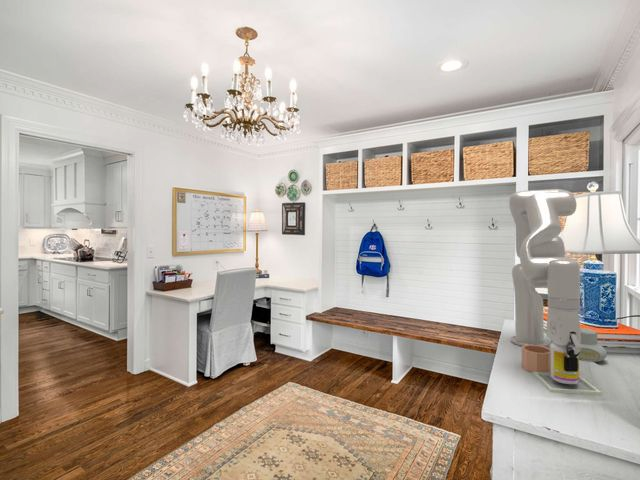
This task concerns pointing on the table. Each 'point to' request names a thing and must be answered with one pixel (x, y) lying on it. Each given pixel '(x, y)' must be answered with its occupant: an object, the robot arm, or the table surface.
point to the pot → (536, 358)
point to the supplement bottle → (561, 366)
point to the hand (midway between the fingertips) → (564, 365)
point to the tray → (589, 392)
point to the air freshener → (591, 347)
